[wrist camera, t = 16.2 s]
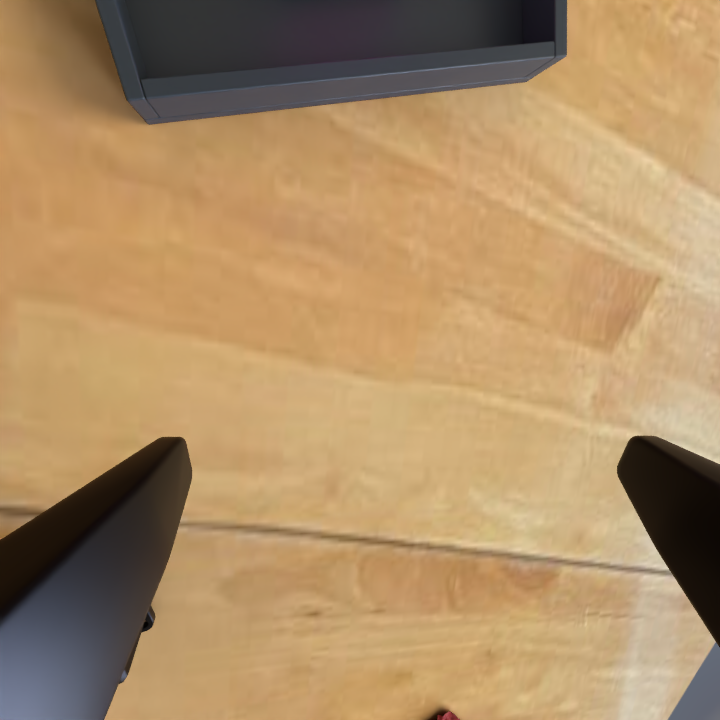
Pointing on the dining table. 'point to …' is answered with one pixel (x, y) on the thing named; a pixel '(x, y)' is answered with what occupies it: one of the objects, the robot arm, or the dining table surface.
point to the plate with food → (448, 716)
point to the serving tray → (320, 50)
